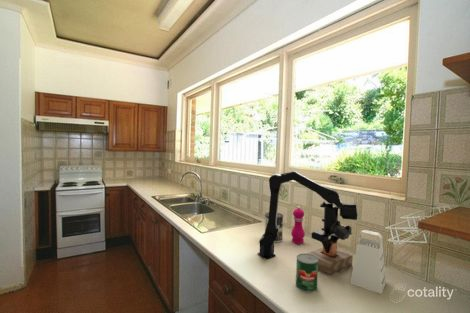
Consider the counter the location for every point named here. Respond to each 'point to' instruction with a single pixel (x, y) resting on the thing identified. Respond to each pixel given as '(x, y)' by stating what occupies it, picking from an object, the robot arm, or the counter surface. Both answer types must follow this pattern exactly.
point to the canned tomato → (307, 272)
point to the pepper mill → (298, 226)
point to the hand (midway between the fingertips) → (329, 251)
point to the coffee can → (279, 222)
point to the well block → (332, 261)
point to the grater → (369, 264)
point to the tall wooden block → (331, 250)
